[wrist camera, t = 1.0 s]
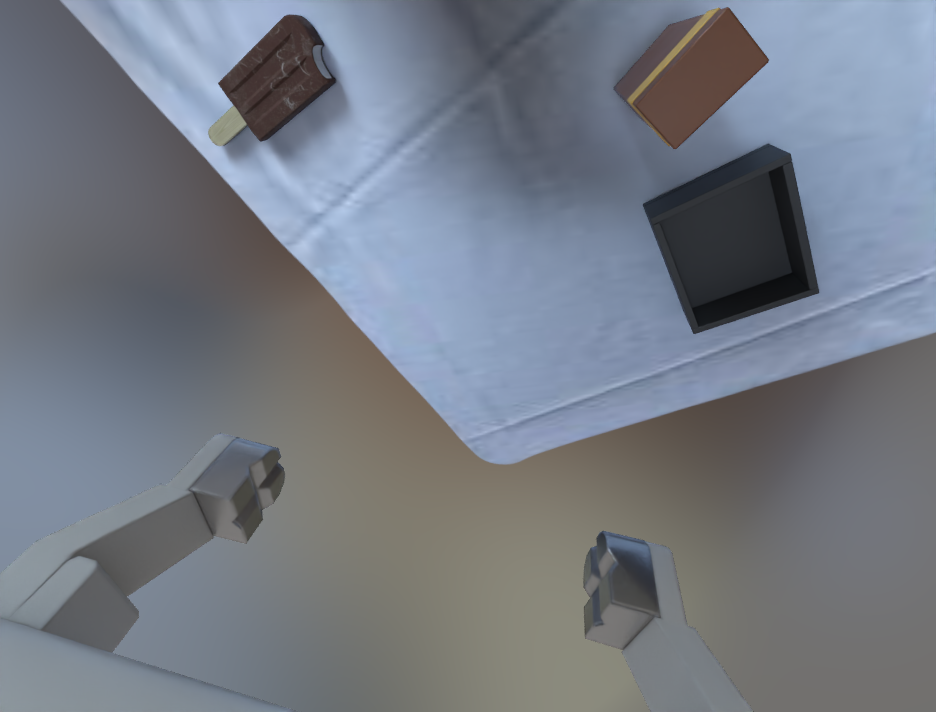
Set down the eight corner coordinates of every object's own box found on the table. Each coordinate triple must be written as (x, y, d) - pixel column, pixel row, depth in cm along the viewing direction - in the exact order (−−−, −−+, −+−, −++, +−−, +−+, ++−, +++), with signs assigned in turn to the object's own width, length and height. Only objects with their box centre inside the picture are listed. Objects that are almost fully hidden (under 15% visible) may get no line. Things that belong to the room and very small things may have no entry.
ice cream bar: (238, 164, 42) (344, 76, 36) (227, 168, 41) (335, 76, 34) (198, 112, 40) (303, 7, 33) (185, 114, 39) (292, 5, 32)
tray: (642, 204, 37) (649, 219, 34) (768, 143, 32) (790, 153, 29) (684, 312, 42) (693, 334, 39) (798, 272, 38) (819, 293, 34)
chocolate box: (612, 88, 32) (633, 106, 21) (669, 22, 30) (728, 3, 18) (640, 119, 33) (674, 151, 22) (698, 58, 30) (772, 60, 19)
